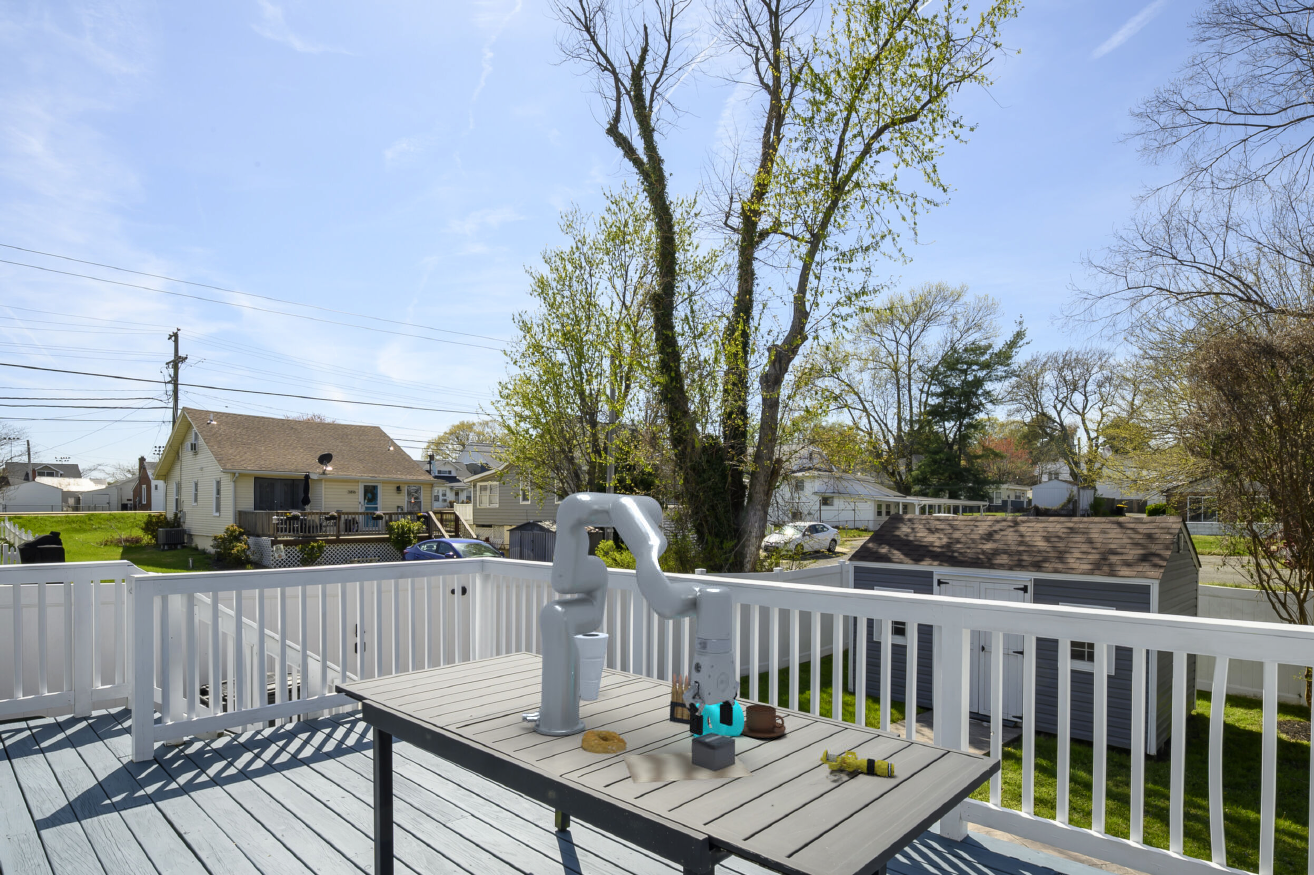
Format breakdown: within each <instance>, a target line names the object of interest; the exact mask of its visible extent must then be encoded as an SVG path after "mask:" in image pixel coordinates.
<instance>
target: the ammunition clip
mask: <svg viewBox="0 0 1314 875" xmlns="http://www.w3.org/2000/svg"><path fill="white" fill-rule="evenodd" d="M672 675H673V676H672V679H671V680H672V682H671V683H672V684H671V691H670V692H671V693H670V694H671V695H670V696H671V697H670V698H671V700H670V703H669V719H668V720H669V722H672V723H677V724H683V725H689V726H690V713H688V710H687V708H686V707H685V703H684V700H683V694H684V693H685V692H686V691H687V690H688V689H689V688H690V687H691V681H690V680H689V677H688V675H687V674H686V675H685V678H684V681H683V676H682V674H679V676H678V680H677V675H676V673H673V674H672ZM689 681H690V682H689ZM707 723H708V725H709V726H710V718H709V717H708V718H707Z"/></svg>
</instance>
